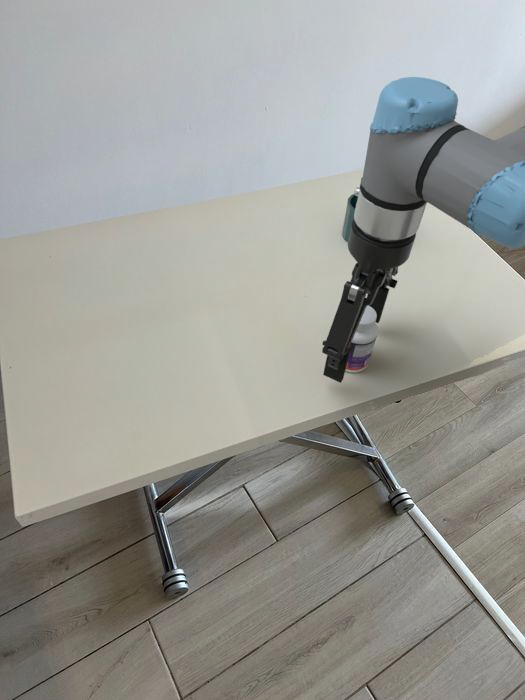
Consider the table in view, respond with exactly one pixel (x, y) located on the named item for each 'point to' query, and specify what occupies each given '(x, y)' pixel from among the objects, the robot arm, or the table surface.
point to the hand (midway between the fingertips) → (352, 346)
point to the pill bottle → (363, 342)
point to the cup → (349, 216)
